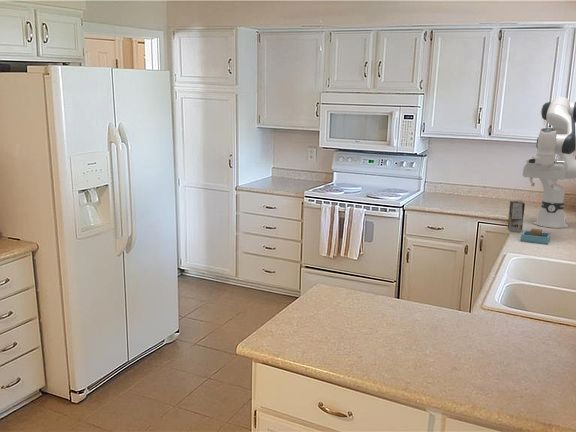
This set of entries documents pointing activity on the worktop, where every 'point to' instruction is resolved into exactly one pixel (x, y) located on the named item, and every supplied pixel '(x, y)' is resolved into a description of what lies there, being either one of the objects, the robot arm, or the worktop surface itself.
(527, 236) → the tray
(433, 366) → the worktop surface
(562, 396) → the worktop surface
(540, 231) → the walnut block
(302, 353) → the worktop surface
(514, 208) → the coffee box
